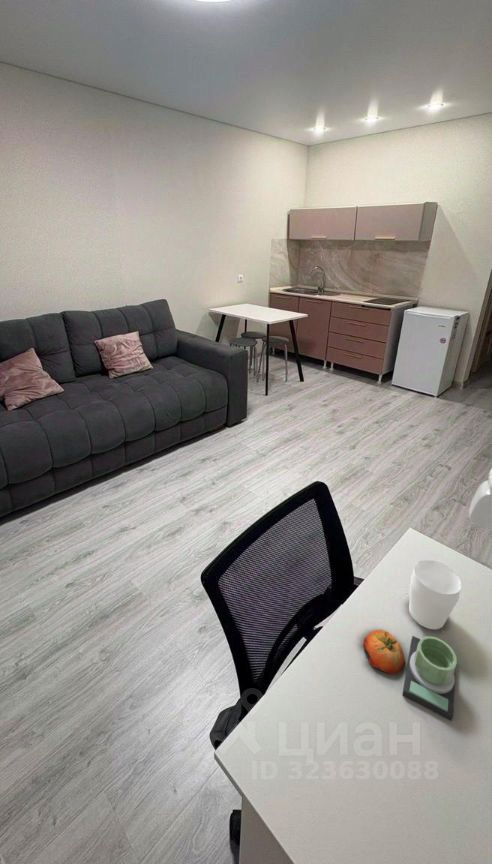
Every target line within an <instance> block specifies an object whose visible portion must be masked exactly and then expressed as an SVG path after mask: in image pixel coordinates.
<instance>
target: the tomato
mask: <svg viewBox="0 0 492 864" xmlns="http://www.w3.org/2000/svg"><path fill="white" fill-rule="evenodd" d="M363 638H364V639H363V642H362V647H363V648H364V650H365V651H366V652H367V653H368V654H365V656H366V657H368V655H369V657H368V664H369V666H371V667H373V668H376V669H378V670H380V671H382V672H384V673H385V674H389V675H397V674H399V673H400V672H401V671H402V670H403V669H404V667H405V662H406V661H405V654H404V651H403V648H402V647H401V644H400V643H399V641H397V639H396V638H395V637H394V636H393V635H392V634H391V633H390V632H388V631H387V630H383V629H375V630H372V631H370V632H369V633H368V634H367V635H366V636H364V637H363Z"/></svg>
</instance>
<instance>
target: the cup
mask: <svg viewBox="0 0 492 864" xmlns="http://www.w3.org/2000/svg"><path fill="white" fill-rule="evenodd" d="M414 565H415V566H414V568H413V571H412V574H411V576H410V585H409V586H410V587H409V607H408V610H409V614H410V616H411V617H412V619H413V620H415V622H416V623H417V624H419V625H420V626H421V627H424V628H426V629H430V630H439V629H441V628H443V626H445V623H446V622H447V620H448V619H449V617H450V615H451V613H452V612H453V610H454V608H455V606H456V605H457V603H458V601H459V599H460V593H461V589H462V581H461V579H460V577H459V576H458V575H457V573H456V572H455V571H454V570H452V568H450V567H449V566H447V565H445V564H443V563H441V562H438V561H436V560H435V561H434V560H428V559H425V560H420V561H418V562H417V563H416V564H414Z"/></svg>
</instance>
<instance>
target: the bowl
mask: <svg viewBox="0 0 492 864" xmlns="http://www.w3.org/2000/svg"><path fill="white" fill-rule="evenodd" d="M419 639H420V641H419V643H418V646H417V649H416V653H415V657H414V661H415V666H416V668H417V670H418V672H419V673H420V674H421V675H422V676H423V677H424V678H425V679H426V680H427V681H429V682H431V683H433V684H437V685H445V684H447V683H449V682H450V681H451V679H452V676H453V673H454V670H455V668H456V667H457V664H458V660H457V659H458V658H457V655H456V653H455V652H454V650H453V648H452V646H450V645H449V644H448V643H446V642H445V641H444V640H442V639H440V638H439V637H436V636H431V635H426V636H423V637H421V638H419Z"/></svg>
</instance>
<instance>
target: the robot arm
mask: <svg viewBox="0 0 492 864" xmlns="http://www.w3.org/2000/svg"><path fill="white" fill-rule="evenodd" d="M487 479H488V480H485V481H483V482H482V483H481V484H480V485H479V486H478V488H477V489H476V491H475V494H474V495H473V498H472V500H471V501H470V506H469V509H468V518H469V520H470V522H471V523H472V524H473V525H474V526H477V527H481V528H483V529H487V530H489V536H490V539H492V467H491V468H490V470H489V472H488V478H487Z"/></svg>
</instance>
